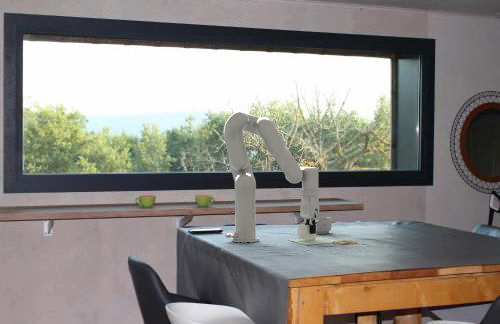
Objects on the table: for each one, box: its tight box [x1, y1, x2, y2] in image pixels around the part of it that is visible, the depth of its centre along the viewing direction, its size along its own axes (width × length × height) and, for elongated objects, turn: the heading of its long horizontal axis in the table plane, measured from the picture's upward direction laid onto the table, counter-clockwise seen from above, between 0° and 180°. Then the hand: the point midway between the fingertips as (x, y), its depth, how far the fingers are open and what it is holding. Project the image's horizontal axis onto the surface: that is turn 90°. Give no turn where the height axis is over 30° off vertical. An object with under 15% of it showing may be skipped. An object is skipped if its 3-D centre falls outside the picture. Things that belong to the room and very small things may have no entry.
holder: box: [332, 239, 358, 246], centre depth 302 cm, size 10×5×1 cm, turn 117°
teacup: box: [312, 216, 333, 235], centre depth 337 cm, size 14×11×8 cm
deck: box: [296, 224, 317, 240], centre depth 310 cm, size 9×2×6 cm, turn 117°
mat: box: [287, 236, 337, 246], centre depth 309 cm, size 18×16×1 cm
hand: (310, 232), depth 311 cm, fingers open, 3 cm apart
